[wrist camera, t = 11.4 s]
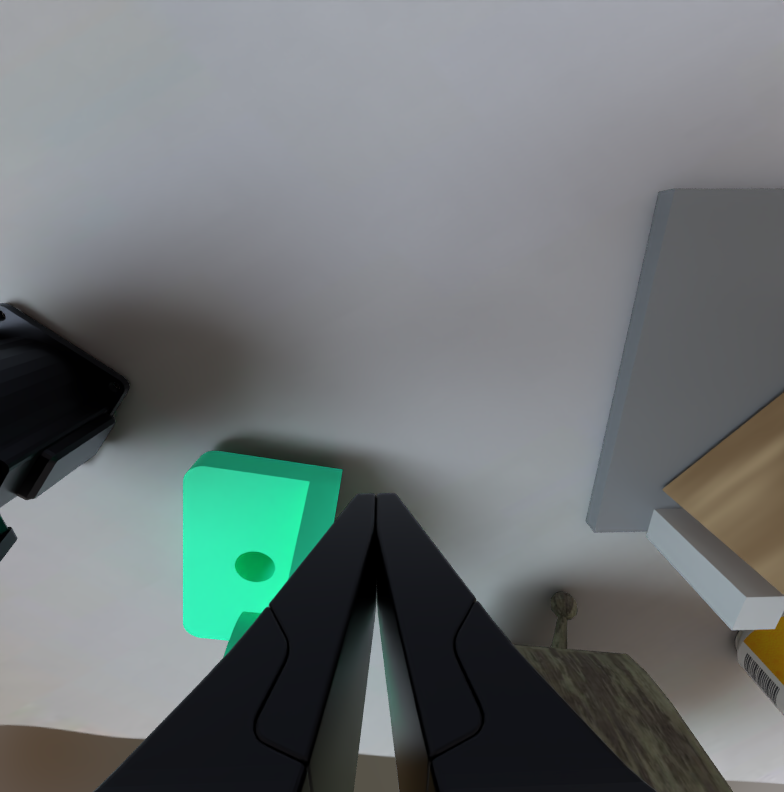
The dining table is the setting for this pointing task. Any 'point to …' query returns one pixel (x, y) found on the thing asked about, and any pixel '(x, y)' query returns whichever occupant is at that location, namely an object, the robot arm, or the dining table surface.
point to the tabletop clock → (625, 710)
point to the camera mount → (247, 535)
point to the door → (743, 492)
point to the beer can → (764, 660)
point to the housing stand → (696, 381)
